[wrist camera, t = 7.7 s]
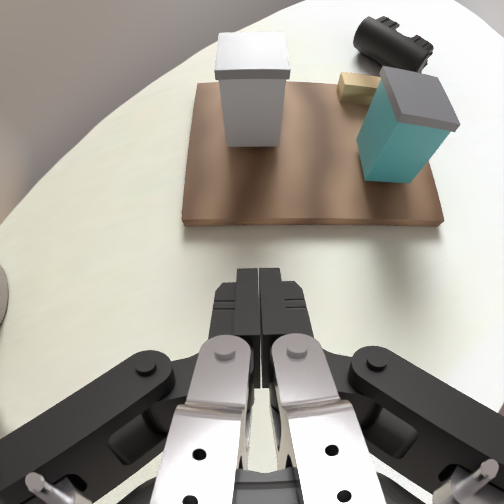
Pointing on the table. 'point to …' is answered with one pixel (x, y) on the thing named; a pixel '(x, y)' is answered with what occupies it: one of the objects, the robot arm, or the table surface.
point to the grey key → (252, 86)
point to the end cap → (391, 45)
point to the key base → (299, 166)
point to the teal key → (404, 125)
